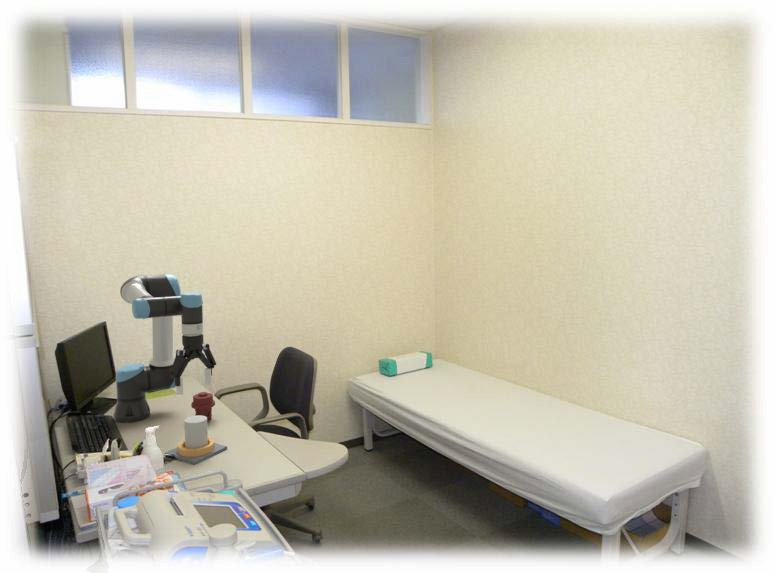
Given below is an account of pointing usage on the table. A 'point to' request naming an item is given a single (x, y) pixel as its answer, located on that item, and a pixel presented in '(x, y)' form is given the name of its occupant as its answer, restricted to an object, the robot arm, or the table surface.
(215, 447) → the socket board
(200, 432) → the grey cylinder
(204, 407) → the mechanical component
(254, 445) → the table surface
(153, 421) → the table surface
